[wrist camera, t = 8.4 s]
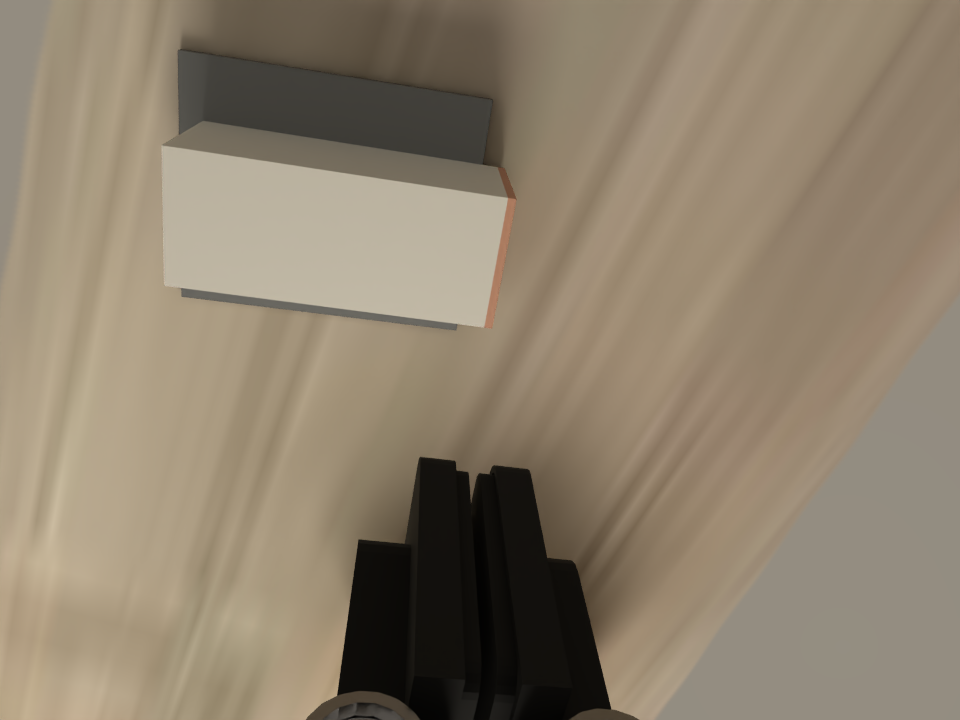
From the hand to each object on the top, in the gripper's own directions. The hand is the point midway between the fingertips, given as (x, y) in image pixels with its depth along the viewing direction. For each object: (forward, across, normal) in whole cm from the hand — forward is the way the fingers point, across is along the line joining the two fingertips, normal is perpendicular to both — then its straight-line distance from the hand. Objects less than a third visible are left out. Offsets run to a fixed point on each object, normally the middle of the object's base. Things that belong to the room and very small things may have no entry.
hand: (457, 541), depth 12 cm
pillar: (+19, -2, +1) cm, 20 cm away
